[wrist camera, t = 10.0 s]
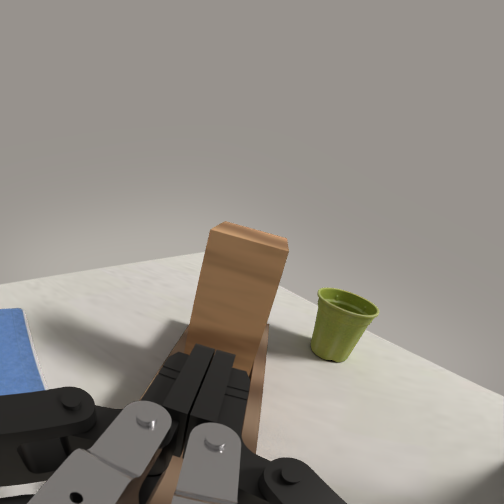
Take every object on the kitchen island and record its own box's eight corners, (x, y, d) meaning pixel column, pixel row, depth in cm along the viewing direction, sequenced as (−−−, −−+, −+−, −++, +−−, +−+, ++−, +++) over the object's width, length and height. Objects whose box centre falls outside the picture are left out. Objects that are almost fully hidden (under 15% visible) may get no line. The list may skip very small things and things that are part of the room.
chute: (235, 563, 9) (250, 552, 9) (82, 511, 10) (72, 492, 9) (264, 346, 39) (272, 324, 38) (194, 326, 39) (199, 303, 38)
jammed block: (239, 402, 25) (288, 251, 21) (178, 384, 25) (210, 229, 22) (246, 368, 31) (286, 238, 27) (194, 353, 31) (225, 221, 27)
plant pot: (335, 377, 35) (362, 320, 33) (286, 342, 41) (305, 289, 39) (366, 359, 41) (388, 310, 39) (322, 332, 48) (339, 285, 46)
